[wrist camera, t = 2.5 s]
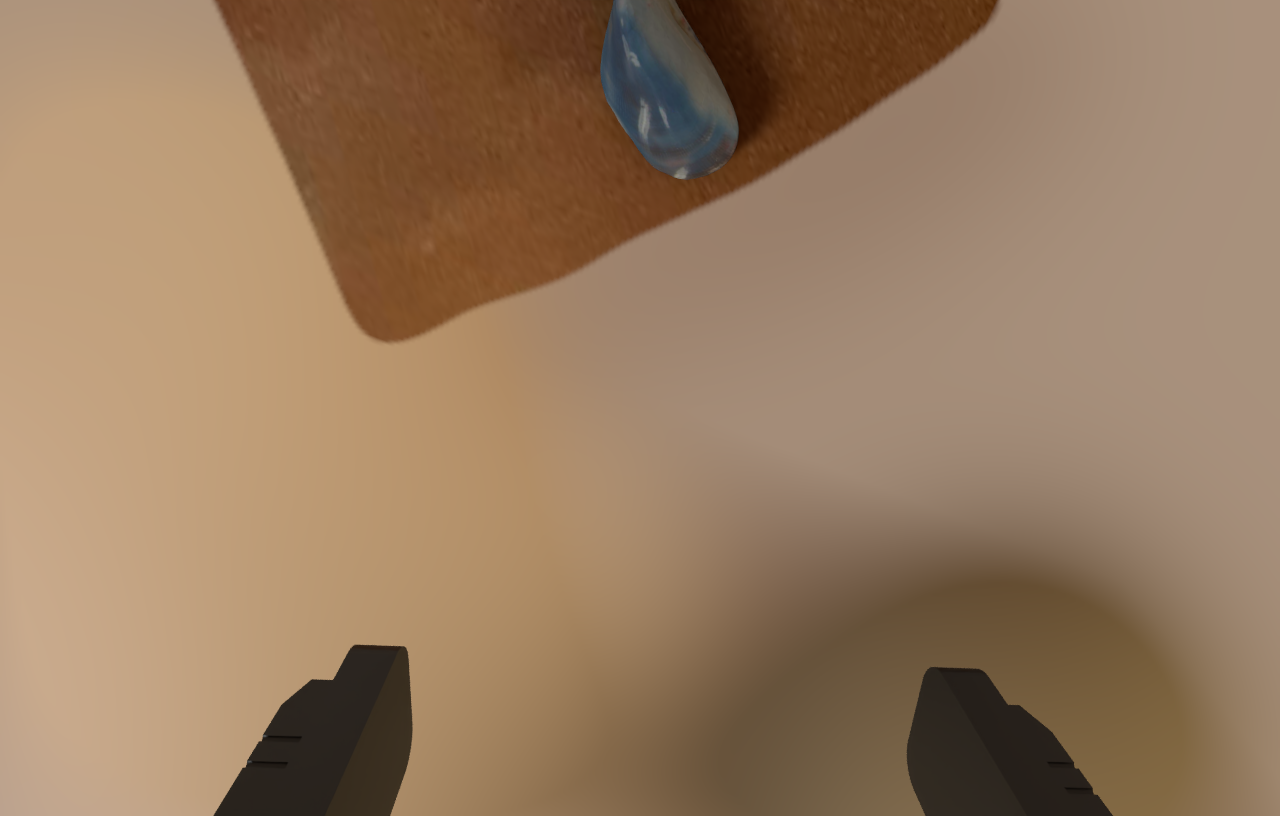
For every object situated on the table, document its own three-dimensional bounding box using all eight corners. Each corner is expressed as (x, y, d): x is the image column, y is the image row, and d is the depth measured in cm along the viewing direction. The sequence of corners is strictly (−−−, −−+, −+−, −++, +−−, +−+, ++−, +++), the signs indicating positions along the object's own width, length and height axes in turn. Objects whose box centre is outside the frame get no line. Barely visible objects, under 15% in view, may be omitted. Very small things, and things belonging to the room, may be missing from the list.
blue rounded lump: (712, 207, 42) (782, 36, 35) (567, 151, 42) (606, -34, 35) (729, 159, 47) (794, -3, 39) (597, 107, 46) (637, -65, 39)
